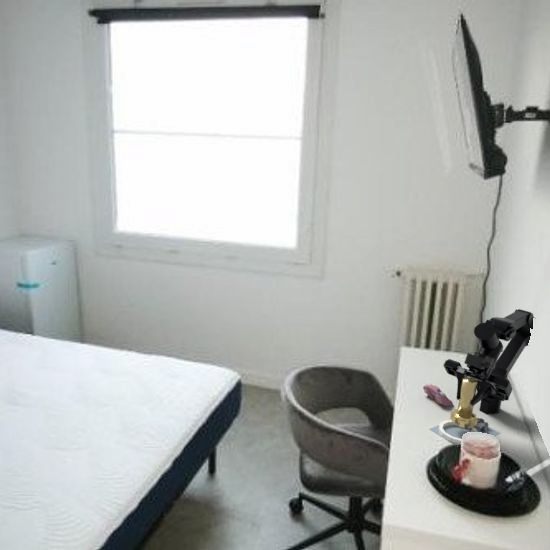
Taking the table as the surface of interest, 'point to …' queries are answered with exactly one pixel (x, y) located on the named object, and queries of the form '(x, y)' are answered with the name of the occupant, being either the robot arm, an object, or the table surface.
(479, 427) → the fixed gear
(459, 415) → the brass gear
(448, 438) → the gear board
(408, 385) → the table surface
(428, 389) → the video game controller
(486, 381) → the robot arm
